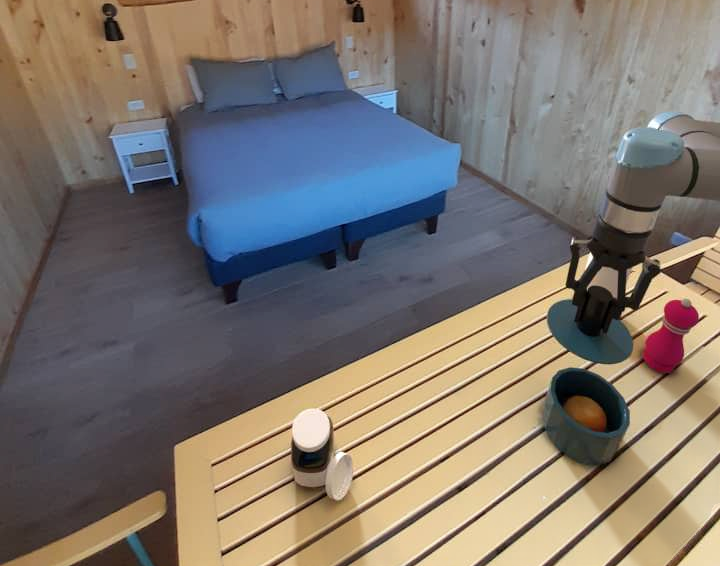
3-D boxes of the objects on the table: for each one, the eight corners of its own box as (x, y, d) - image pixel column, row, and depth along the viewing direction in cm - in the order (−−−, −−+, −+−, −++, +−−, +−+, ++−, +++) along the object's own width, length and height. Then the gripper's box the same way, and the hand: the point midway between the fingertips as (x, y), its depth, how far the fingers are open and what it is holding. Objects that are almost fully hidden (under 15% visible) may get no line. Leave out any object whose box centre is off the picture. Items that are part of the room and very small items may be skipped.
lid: (631, 320, 79) (647, 282, 74) (631, 381, 68) (650, 340, 63) (551, 293, 86) (561, 256, 81) (540, 344, 75) (550, 304, 70)
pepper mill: (633, 354, 97) (659, 293, 88) (652, 344, 99) (680, 283, 90) (663, 380, 91) (695, 317, 82) (683, 368, 93) (716, 306, 84)
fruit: (591, 461, 75) (581, 419, 75) (558, 438, 82) (549, 400, 82) (621, 443, 77) (611, 402, 78) (586, 422, 85) (577, 384, 85)
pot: (616, 415, 84) (629, 387, 80) (615, 481, 74) (630, 452, 69) (547, 385, 90) (555, 357, 86) (536, 441, 80) (546, 412, 76)
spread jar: (300, 434, 82) (294, 399, 77) (355, 435, 81) (353, 400, 76) (288, 506, 71) (281, 471, 66) (352, 508, 71) (350, 472, 65)
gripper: (687, 224, 64) (643, 327, 74) (569, 196, 72) (545, 293, 82) (692, 251, 58) (644, 358, 69) (564, 217, 66) (538, 318, 77)
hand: (590, 322), depth 76 cm, fingers closed on lid, 4 cm apart
